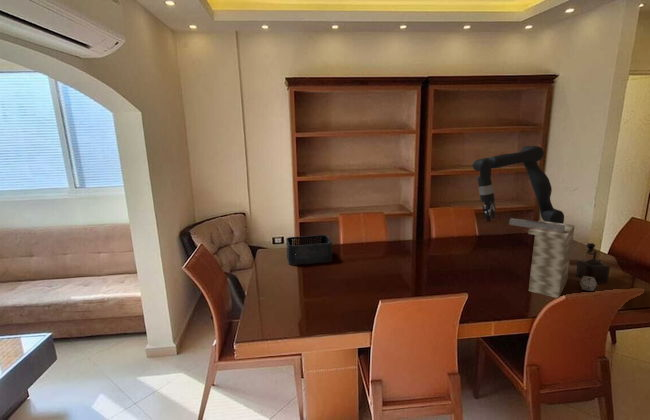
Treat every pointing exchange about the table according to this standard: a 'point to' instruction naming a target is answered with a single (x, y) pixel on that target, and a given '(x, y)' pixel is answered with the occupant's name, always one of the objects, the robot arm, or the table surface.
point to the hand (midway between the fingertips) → (491, 219)
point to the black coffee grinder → (593, 267)
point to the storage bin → (309, 250)
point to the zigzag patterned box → (550, 260)
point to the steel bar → (537, 225)
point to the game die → (588, 283)
